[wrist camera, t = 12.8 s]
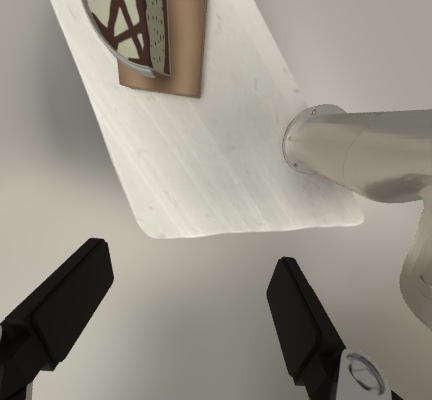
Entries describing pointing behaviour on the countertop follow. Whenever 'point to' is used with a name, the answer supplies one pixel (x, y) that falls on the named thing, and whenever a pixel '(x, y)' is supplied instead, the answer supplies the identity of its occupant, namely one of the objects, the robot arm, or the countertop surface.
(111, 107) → the countertop surface
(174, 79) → the walnut stand
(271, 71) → the countertop surface
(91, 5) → the food container
